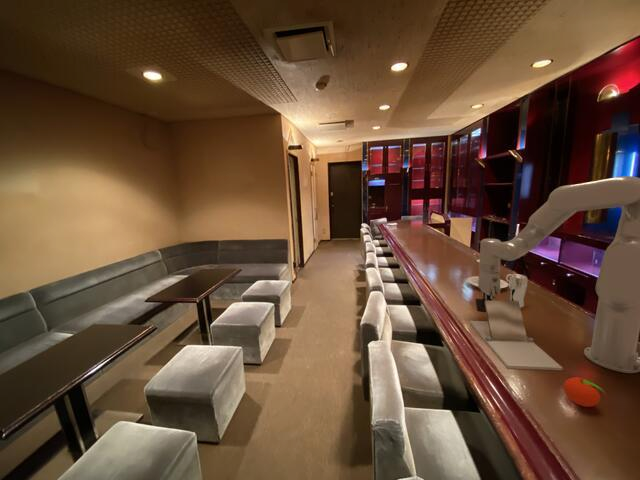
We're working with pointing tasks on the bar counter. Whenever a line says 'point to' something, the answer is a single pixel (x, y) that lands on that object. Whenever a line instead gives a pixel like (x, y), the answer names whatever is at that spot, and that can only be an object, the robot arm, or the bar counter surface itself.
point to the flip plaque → (505, 319)
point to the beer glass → (518, 288)
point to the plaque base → (516, 350)
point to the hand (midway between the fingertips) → (486, 307)
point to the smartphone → (480, 305)
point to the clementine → (582, 391)
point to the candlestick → (475, 280)
